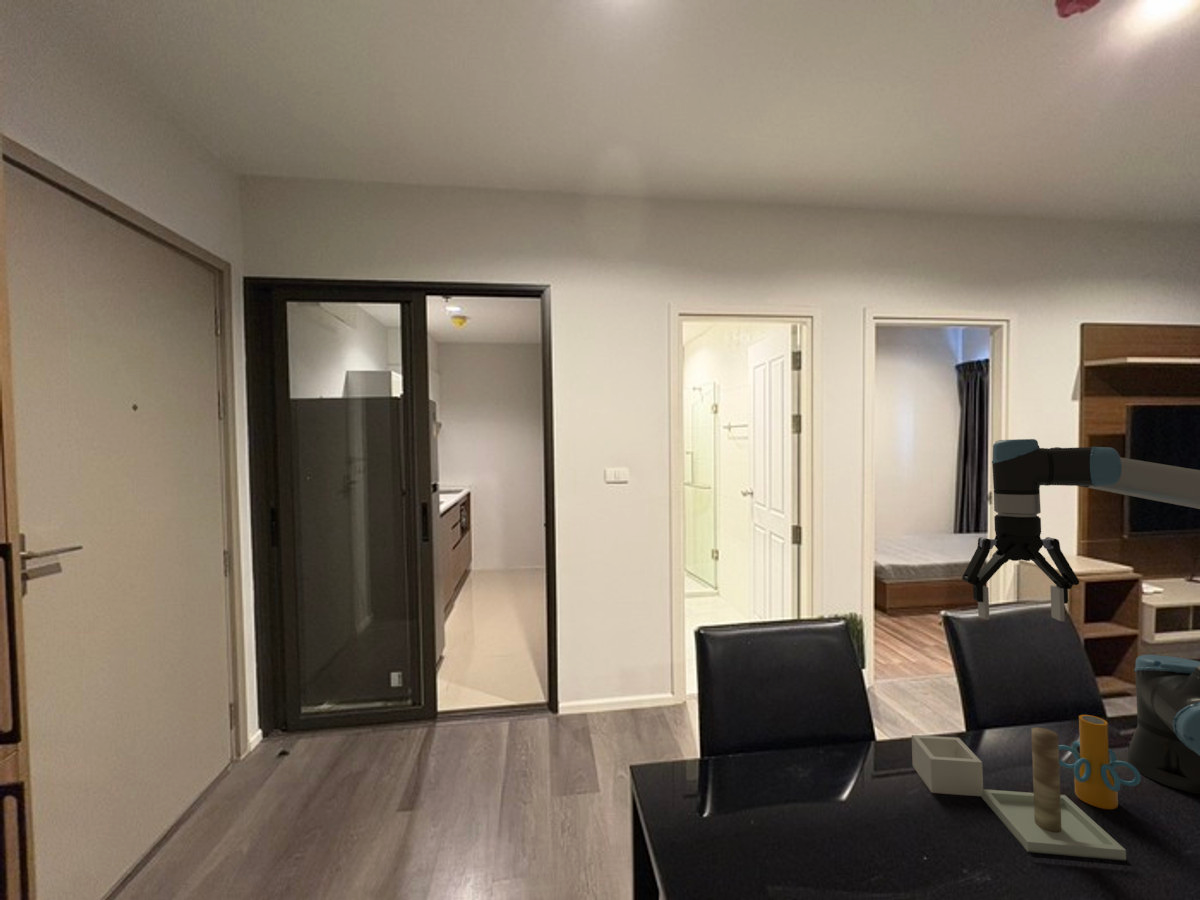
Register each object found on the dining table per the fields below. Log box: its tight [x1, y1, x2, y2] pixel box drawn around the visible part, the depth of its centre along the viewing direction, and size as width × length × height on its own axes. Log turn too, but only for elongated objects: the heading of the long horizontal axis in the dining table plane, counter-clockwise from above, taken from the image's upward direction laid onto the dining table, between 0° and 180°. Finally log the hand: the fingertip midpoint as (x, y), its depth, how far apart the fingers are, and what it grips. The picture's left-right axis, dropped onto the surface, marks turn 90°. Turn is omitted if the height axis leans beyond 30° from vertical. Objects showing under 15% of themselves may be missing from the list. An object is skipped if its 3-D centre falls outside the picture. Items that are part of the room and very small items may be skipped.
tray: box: [981, 788, 1127, 862], centre depth 93 cm, size 14×14×2 cm
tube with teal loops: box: [1059, 714, 1142, 810], centre depth 101 cm, size 12×10×15 cm
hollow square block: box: [911, 734, 984, 797], centre depth 107 cm, size 9×9×7 cm
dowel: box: [1030, 727, 1062, 833], centre depth 93 cm, size 4×4×16 cm
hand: (1020, 618), depth 110 cm, fingers open, 13 cm apart
